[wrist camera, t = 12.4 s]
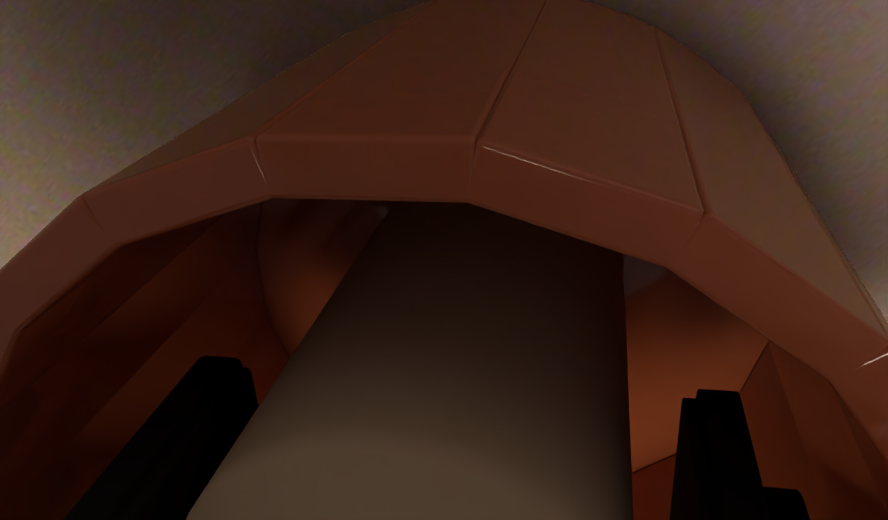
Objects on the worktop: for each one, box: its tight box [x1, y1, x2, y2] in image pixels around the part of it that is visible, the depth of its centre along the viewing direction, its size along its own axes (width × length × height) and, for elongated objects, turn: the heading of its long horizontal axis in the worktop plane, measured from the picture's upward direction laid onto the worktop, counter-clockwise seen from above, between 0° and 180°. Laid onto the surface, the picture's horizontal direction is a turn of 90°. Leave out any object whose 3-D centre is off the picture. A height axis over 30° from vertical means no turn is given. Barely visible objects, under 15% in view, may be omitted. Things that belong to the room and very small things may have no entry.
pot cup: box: [0, 0, 888, 520], centre depth 13 cm, size 12×12×9 cm
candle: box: [186, 201, 633, 520], centre depth 12 cm, size 6×6×10 cm
